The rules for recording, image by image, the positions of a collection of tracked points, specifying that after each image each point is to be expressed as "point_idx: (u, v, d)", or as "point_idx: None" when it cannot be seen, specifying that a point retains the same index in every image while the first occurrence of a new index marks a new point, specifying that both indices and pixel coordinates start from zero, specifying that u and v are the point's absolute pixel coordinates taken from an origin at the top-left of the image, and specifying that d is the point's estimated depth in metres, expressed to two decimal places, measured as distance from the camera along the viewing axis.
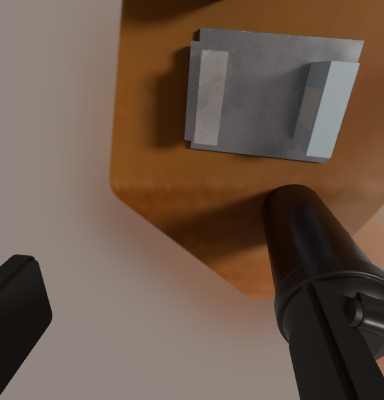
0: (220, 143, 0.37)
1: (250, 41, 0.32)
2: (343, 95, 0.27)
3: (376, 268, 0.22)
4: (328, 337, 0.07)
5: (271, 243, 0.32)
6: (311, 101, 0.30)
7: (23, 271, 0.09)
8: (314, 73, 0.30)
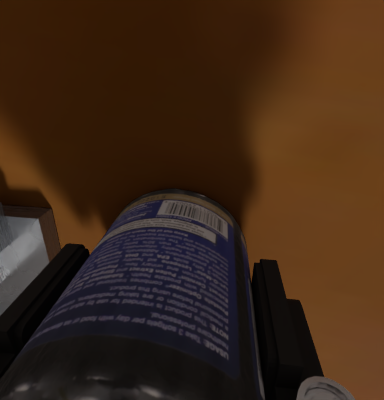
0: None
1: None
2: None
3: None
4: (265, 304, 0.08)
5: None
6: None
7: (78, 258, 0.10)
8: None
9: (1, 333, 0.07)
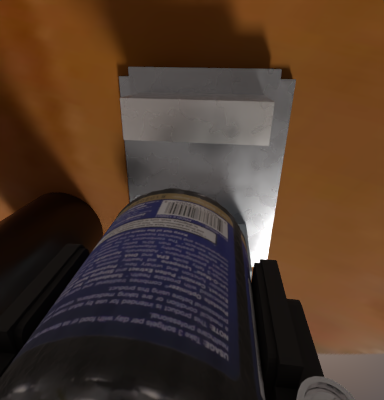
0: None
1: (272, 153, 0.24)
2: None
3: None
4: (265, 304, 0.08)
5: None
6: None
7: (78, 258, 0.10)
8: None
9: (1, 333, 0.07)
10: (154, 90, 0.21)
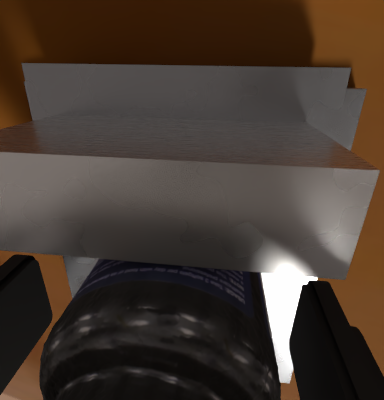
0: None
1: None
2: None
3: None
4: (328, 337, 0.07)
5: None
6: None
7: (23, 271, 0.09)
8: None
9: None
10: (80, 111, 0.10)
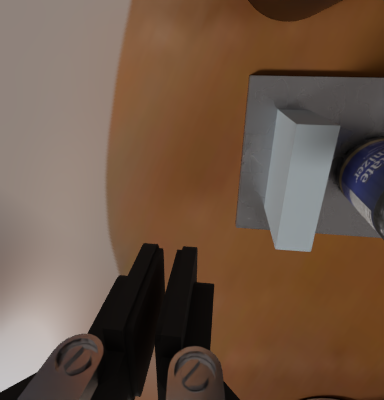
0: None
1: (365, 227, 0.26)
2: (290, 215, 0.19)
3: None
4: (171, 286, 0.08)
5: None
6: None
7: (159, 258, 0.10)
8: None
9: (116, 332, 0.07)
10: None
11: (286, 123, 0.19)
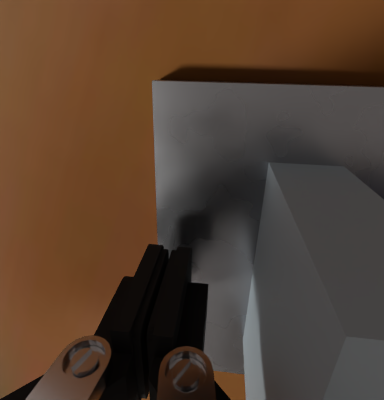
0: None
1: None
2: None
3: None
4: (164, 286, 0.08)
5: None
6: None
7: (164, 259, 0.10)
8: None
9: (123, 334, 0.07)
10: None
11: (291, 237, 0.06)
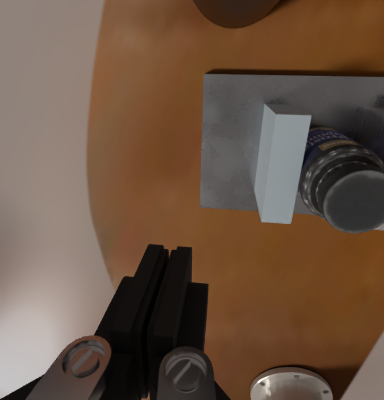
0: (358, 89, 0.25)
1: None
2: (272, 192, 0.23)
3: None
4: (164, 286, 0.08)
5: None
6: None
7: (164, 259, 0.10)
8: None
9: (123, 334, 0.07)
10: None
11: (269, 114, 0.23)
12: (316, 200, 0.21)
